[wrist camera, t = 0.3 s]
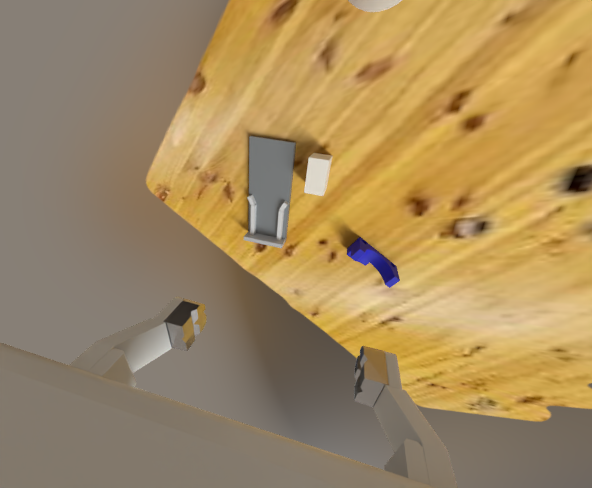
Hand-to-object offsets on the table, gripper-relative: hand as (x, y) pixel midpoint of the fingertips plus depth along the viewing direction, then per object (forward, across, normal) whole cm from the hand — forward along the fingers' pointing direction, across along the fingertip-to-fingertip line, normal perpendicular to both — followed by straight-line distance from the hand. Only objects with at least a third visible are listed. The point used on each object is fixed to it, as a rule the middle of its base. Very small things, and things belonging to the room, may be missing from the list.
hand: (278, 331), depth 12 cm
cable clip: (+45, -12, +21) cm, 51 cm away
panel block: (+45, +4, +2) cm, 45 cm away
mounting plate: (+45, +15, +9) cm, 48 cm away
